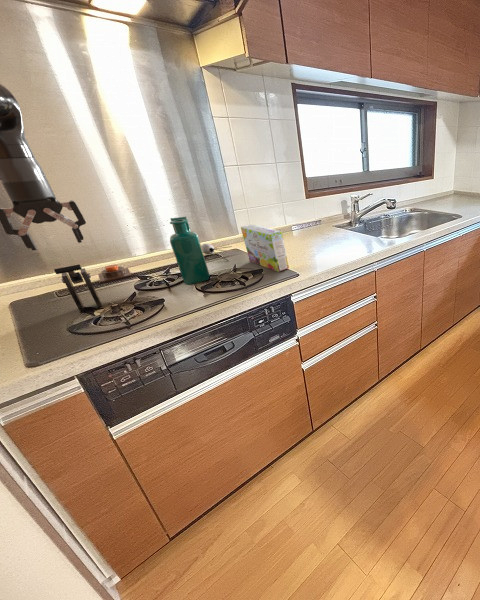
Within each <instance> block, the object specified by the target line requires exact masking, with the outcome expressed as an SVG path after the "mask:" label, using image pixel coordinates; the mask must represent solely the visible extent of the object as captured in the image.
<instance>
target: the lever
mask: <svg viewBox="0 0 480 600" xmlns="http://www.w3.org/2000/svg"><path fill="white" fill-rule="evenodd" d="M82 269H83V268H82V265H81V264H80V263H79V264H73V265H68V266H63V267H58V268H54V269H53V271H54V273H55V274H56V275H62V273H66V272H67V274H68V276H69V278H70V280H71V282H72V284H73V285H76V284H81V283H85V280H84V278H83V276H82V274H81V272H76V271H81V270H82Z"/></svg>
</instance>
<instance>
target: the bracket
mask: <svg viewBox="0 0 480 600" xmlns="http://www.w3.org/2000/svg"><path fill="white" fill-rule="evenodd" d="M80 274H81V276H82V278H83V281H84V283H85V285H86V287H87V289H88V291H89V293H90V295H91V297H92V299H93V301H94V303H95V305H96V307H97V308H98V309H101V308H103V304H102V301H101V299H100V297H99V295H98V292H97V290H96V288H95V286H94V284H93V282H92V280H91V278H92V275H91V274H90V273H89V272H87V270H86V268H85V267H84V268H82V270H80ZM60 280H61V282H62V283H63V284H65V286H66V289H67V290H68V292H69V294H70V296H71V298H72V299H73V301H74V303H75V305H76V308H77V309H78V311H79V313H80V314H81V313H85V312H86V309H85V310H84V307H85V305H84V303H83V301H82V299H81V297H80V295H79V293H78V292H77V289H76V288H75V285H74V283H73V282H72V281H71V279H70V276H69V274H68V273H67V272H66V273H61V278H60Z"/></svg>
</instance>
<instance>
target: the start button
mask: <svg viewBox="0 0 480 600" xmlns="http://www.w3.org/2000/svg"><path fill="white" fill-rule="evenodd" d="M118 267H119V265H118V264H109V265H107V266H105V267H104V270H105V269H106V271H107V272H112V271H116V270H119V268H118Z"/></svg>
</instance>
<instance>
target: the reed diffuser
mask: <svg viewBox="0 0 480 600" xmlns="http://www.w3.org/2000/svg"><path fill="white" fill-rule="evenodd" d="M201 247H202V251H203V254H204V255H207V256H211V255H212V256H213V258H214V259H215V260H217V258H216V256H215V254H216V255H217V256H219V257H220V258H223V259H224V260H225V261H227V262H229V260H228V259H226V258H225V257H224V256H222V255H220V254H219V253H217V252H215V251H218V250H219V251H220V252H226V250H225V249H227V248H232V246H231V245H230V246H224V247H221V249H220V247H214V245H212V244H210V243H202V244H201ZM223 249H224V250H223ZM214 253H215V254H214Z"/></svg>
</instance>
